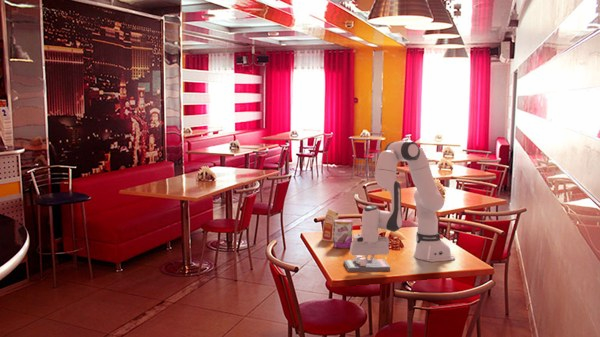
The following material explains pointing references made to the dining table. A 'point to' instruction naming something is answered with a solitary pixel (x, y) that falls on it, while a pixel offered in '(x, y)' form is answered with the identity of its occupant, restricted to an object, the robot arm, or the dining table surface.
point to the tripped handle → (362, 261)
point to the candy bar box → (342, 233)
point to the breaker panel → (367, 265)
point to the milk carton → (329, 225)
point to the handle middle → (358, 259)
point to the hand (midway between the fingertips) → (369, 262)
